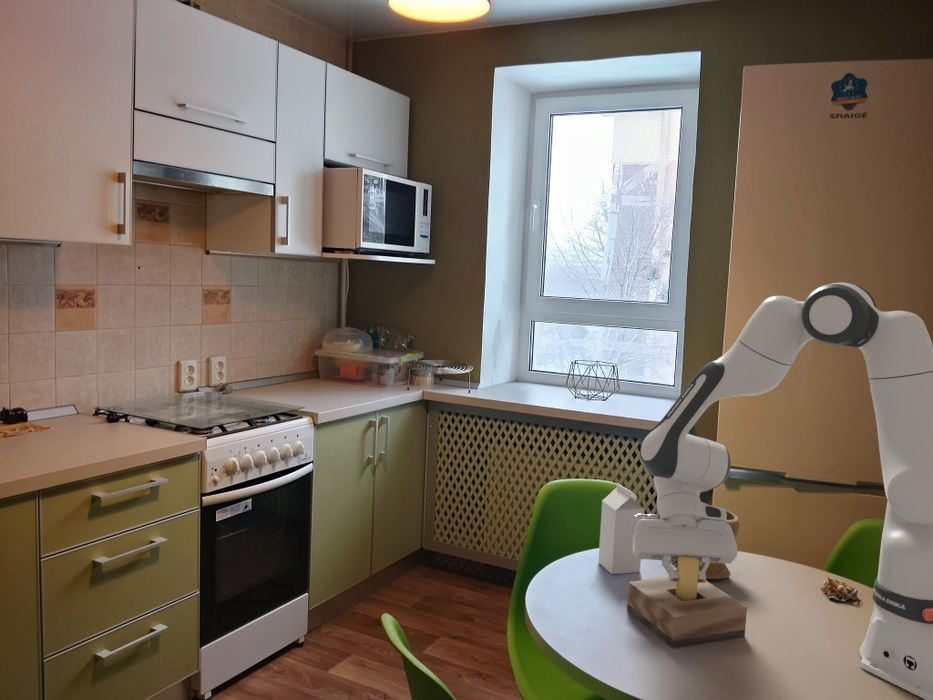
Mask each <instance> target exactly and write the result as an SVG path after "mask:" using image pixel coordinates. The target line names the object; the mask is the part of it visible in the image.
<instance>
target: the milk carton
mask: <svg viewBox="0 0 933 700" xmlns="http://www.w3.org/2000/svg"><path fill="white" fill-rule="evenodd" d="M637 499H638V496H637V495H636V494H635V493H634V492H632V491H631V490H629V489H628V488H626V487H625V486H623V485H621V484H619V483H618V482H617V483H616V487H615V488H614V489H613V490H612V491H611V492H609V494H608V495H607V496H606V497H604V498H603V499H602V500H601V516H600V532H599V547H598V548H599V550H598V564H599V565H601V566H602V567H603V568H604V569H605V570H606V571H607V572H608V573H609V574H611V575H619V574H621V575H622V574H630V573H631V574H633V573H640V572H641V562H642V559H637V558H636V557H635V556H634V555H633V550H632V544H633V534H634V533H633V532H632V531H631V529H630V519H631V518H632V517H633V516H635V515H637V514H645V508H644V507H643V506H642V505H641V504H640V503H638V501H637Z"/></svg>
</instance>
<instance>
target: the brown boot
mask: <svg viewBox="0 0 933 700" xmlns="http://www.w3.org/2000/svg"><path fill="white" fill-rule="evenodd" d="M711 506H714V507H717V508H720V509H723V510H725V512H726V515H727V517H726V521H725V522H726V523H728V524H729V525H730V527H731V529H732V531H733V534H734V537H735V539H736V537H737V536H738V533H739V530H740V519H739V517H738V515H736V514H735V513H733V512H731V511H730V510H728V509H725V508H722V507H719V506H715V505H713V504H712V505H711ZM702 569H703V567H700V562H699V571H702ZM705 574H706V580H707V579H708V580H723V579H727V578H730V576H731V572H730V570H729V568H728V567H727V564H726V563H710V564H709V566H708V568H707V570H706V572H705Z"/></svg>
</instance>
